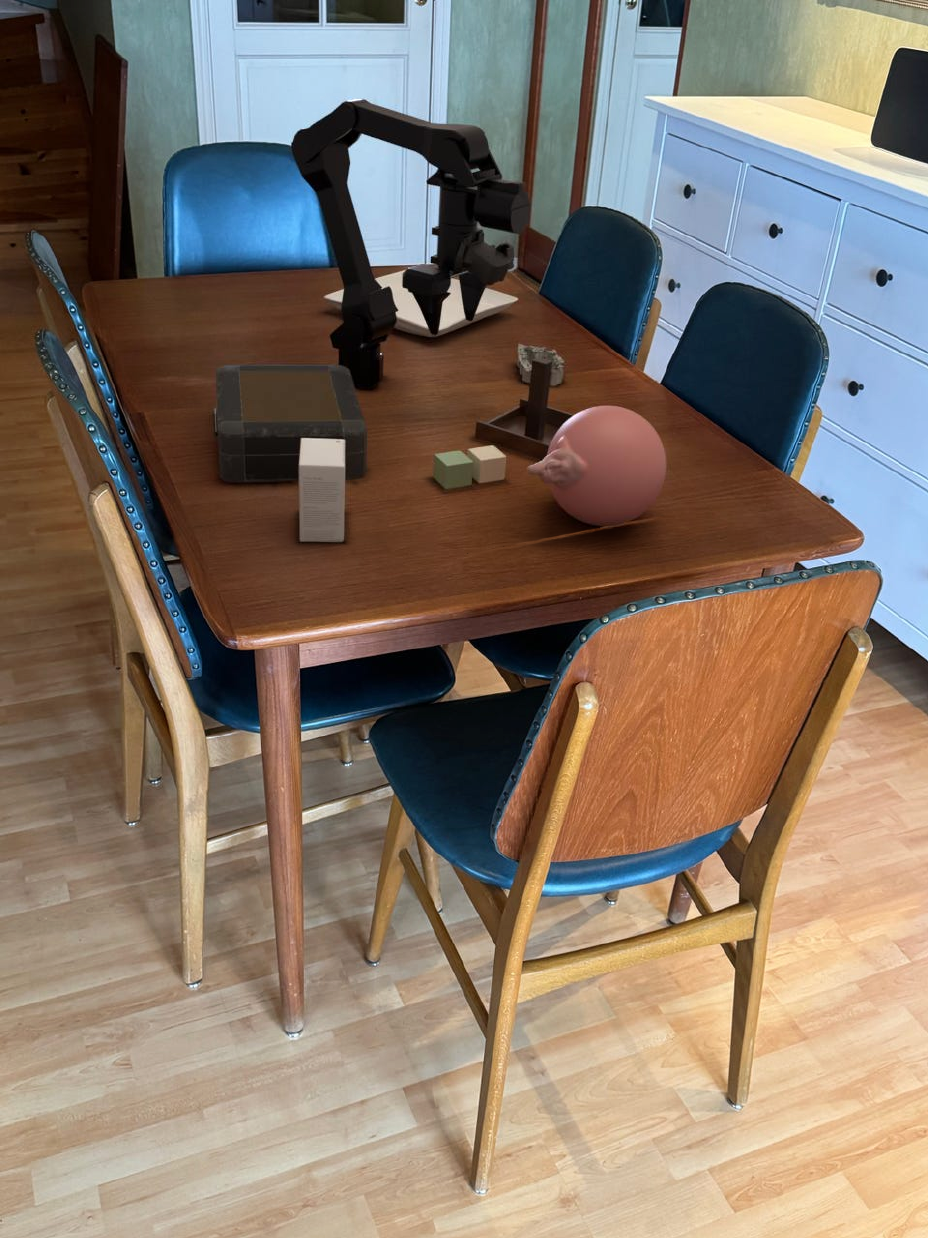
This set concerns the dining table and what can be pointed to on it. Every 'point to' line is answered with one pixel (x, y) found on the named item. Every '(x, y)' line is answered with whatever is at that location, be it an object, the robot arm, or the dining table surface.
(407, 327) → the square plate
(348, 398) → the cash box
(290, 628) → the dining table surface
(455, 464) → the sage block
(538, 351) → the grey castle model
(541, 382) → the brown tray with post
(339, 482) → the small box
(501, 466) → the cream block
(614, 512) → the balloon
